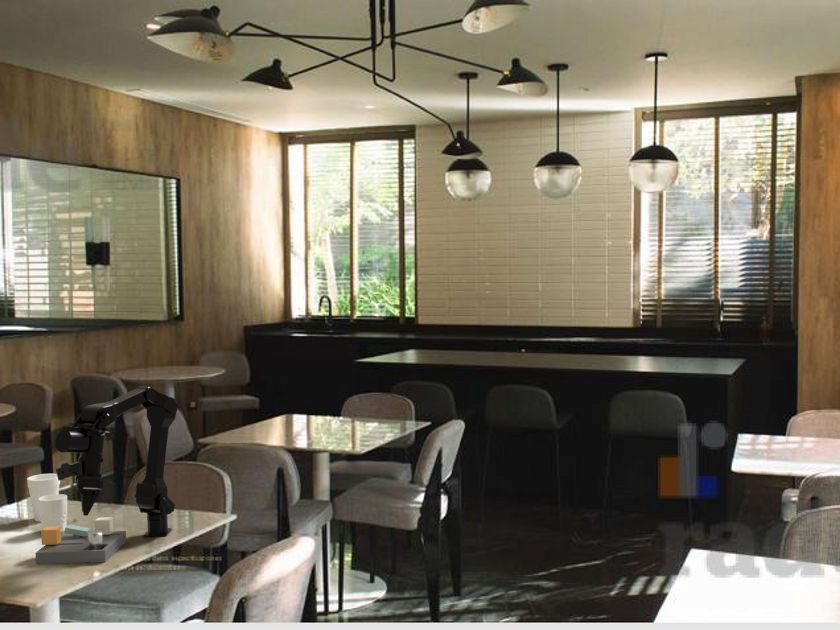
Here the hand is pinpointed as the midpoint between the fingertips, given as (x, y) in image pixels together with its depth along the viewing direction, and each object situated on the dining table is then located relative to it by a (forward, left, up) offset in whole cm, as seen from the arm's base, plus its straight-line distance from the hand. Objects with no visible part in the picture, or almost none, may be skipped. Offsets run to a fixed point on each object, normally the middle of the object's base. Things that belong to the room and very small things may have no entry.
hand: (84, 513), depth 240 cm
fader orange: (-6, -11, -9) cm, 16 cm away
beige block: (-14, 0, -9) cm, 17 cm away
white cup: (-30, -20, -13) cm, 38 cm away
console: (-8, -4, -13) cm, 15 cm away
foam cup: (-44, -28, -13) cm, 53 cm away
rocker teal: (-13, -7, -8) cm, 17 cm away
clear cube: (-2, +2, -10) cm, 10 cm away
